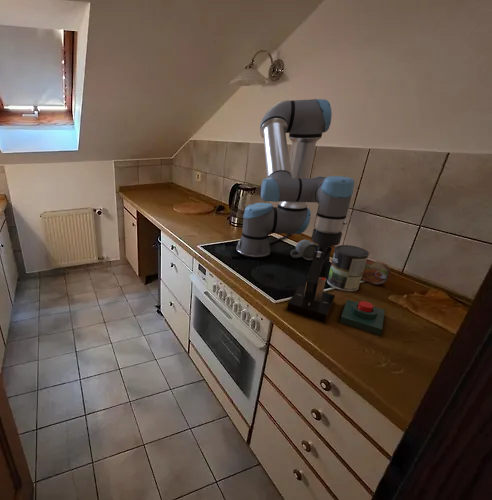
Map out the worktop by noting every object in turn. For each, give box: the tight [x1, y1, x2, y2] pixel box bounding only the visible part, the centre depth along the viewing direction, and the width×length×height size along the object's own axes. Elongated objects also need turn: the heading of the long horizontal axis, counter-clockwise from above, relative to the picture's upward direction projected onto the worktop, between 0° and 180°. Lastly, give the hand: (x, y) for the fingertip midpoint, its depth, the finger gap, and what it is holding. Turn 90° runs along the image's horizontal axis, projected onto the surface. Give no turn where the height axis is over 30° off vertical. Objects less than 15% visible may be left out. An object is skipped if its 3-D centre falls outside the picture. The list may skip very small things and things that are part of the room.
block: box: [339, 299, 385, 336], centre depth 92 cm, size 12×10×4 cm
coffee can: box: [326, 244, 370, 292], centre depth 109 cm, size 10×10×14 cm
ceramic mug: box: [289, 239, 318, 261], centre depth 134 cm, size 11×8×8 cm
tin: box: [361, 257, 392, 285], centre depth 114 cm, size 15×3×8 cm, turn 24°
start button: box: [358, 300, 374, 312], centre depth 91 cm, size 4×4×2 cm
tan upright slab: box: [303, 276, 327, 302], centre depth 97 cm, size 5×2×8 cm, turn 50°
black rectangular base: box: [286, 285, 336, 323], centre depth 99 cm, size 14×11×3 cm
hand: (313, 291), depth 97 cm, fingers open, 13 cm apart
